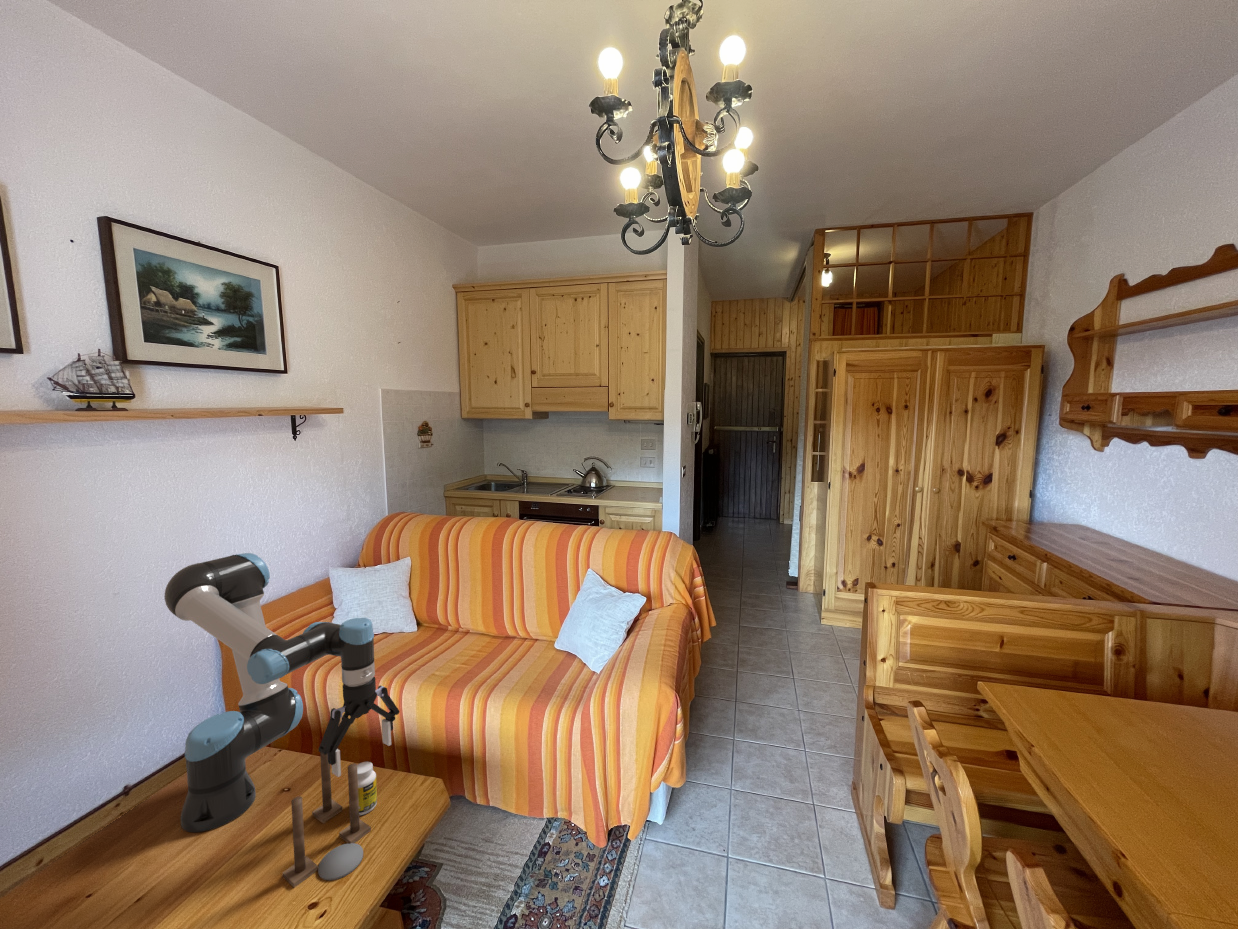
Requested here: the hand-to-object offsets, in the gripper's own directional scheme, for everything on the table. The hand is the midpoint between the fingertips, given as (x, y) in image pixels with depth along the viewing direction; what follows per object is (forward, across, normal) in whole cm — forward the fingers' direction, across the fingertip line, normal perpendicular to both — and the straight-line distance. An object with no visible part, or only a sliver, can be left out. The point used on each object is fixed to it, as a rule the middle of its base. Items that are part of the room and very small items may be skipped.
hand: (363, 758), depth 126 cm
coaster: (+14, -12, -11) cm, 21 cm away
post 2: (+14, -6, +7) cm, 16 cm away
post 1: (+14, -19, -6) cm, 24 cm away
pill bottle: (+14, 0, 0) cm, 14 cm away
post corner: (+14, -6, -6) cm, 16 cm away
